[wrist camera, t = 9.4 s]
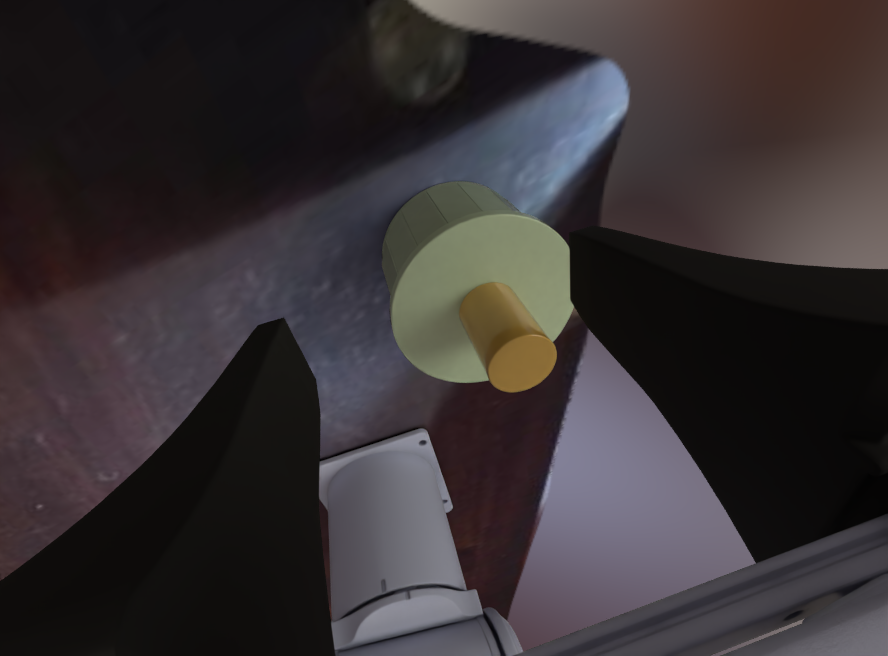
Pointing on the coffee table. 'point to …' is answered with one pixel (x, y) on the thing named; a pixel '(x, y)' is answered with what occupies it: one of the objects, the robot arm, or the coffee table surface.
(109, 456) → the coffee table surface
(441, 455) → the coffee table surface
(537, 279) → the lid
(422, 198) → the tin
